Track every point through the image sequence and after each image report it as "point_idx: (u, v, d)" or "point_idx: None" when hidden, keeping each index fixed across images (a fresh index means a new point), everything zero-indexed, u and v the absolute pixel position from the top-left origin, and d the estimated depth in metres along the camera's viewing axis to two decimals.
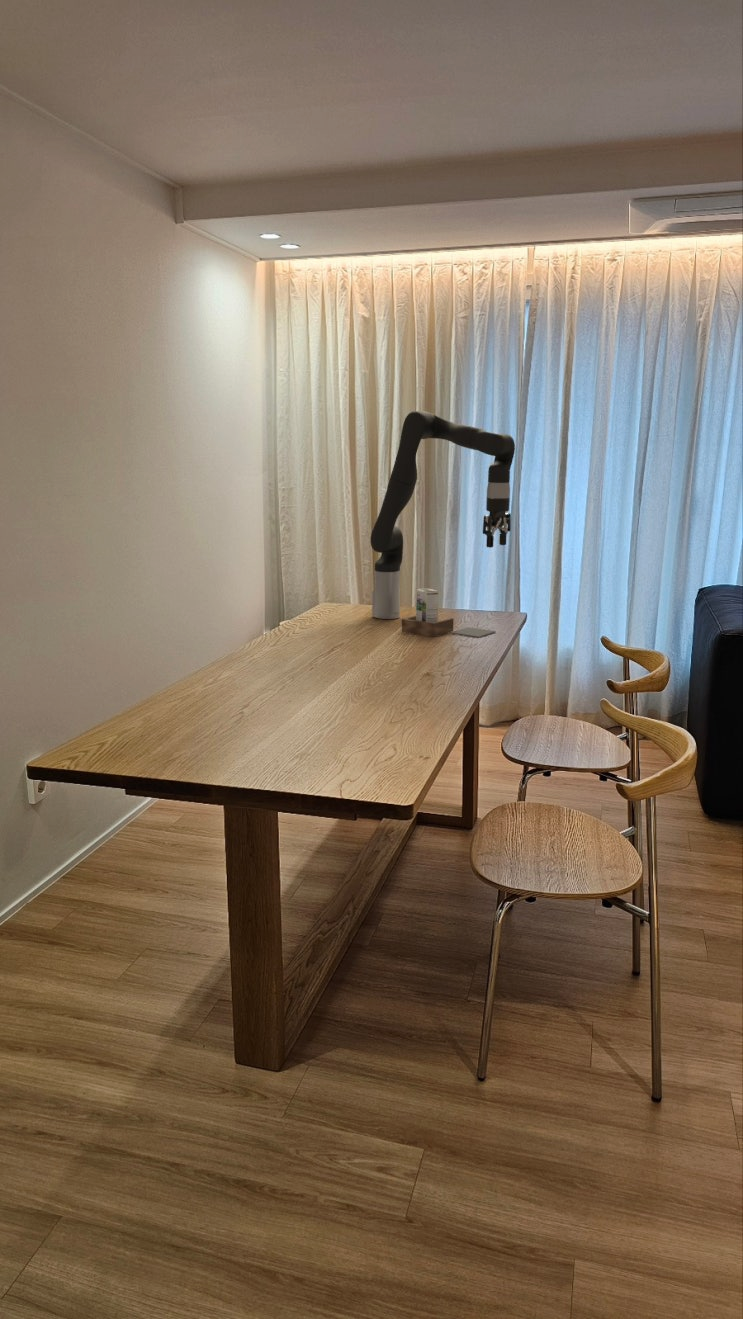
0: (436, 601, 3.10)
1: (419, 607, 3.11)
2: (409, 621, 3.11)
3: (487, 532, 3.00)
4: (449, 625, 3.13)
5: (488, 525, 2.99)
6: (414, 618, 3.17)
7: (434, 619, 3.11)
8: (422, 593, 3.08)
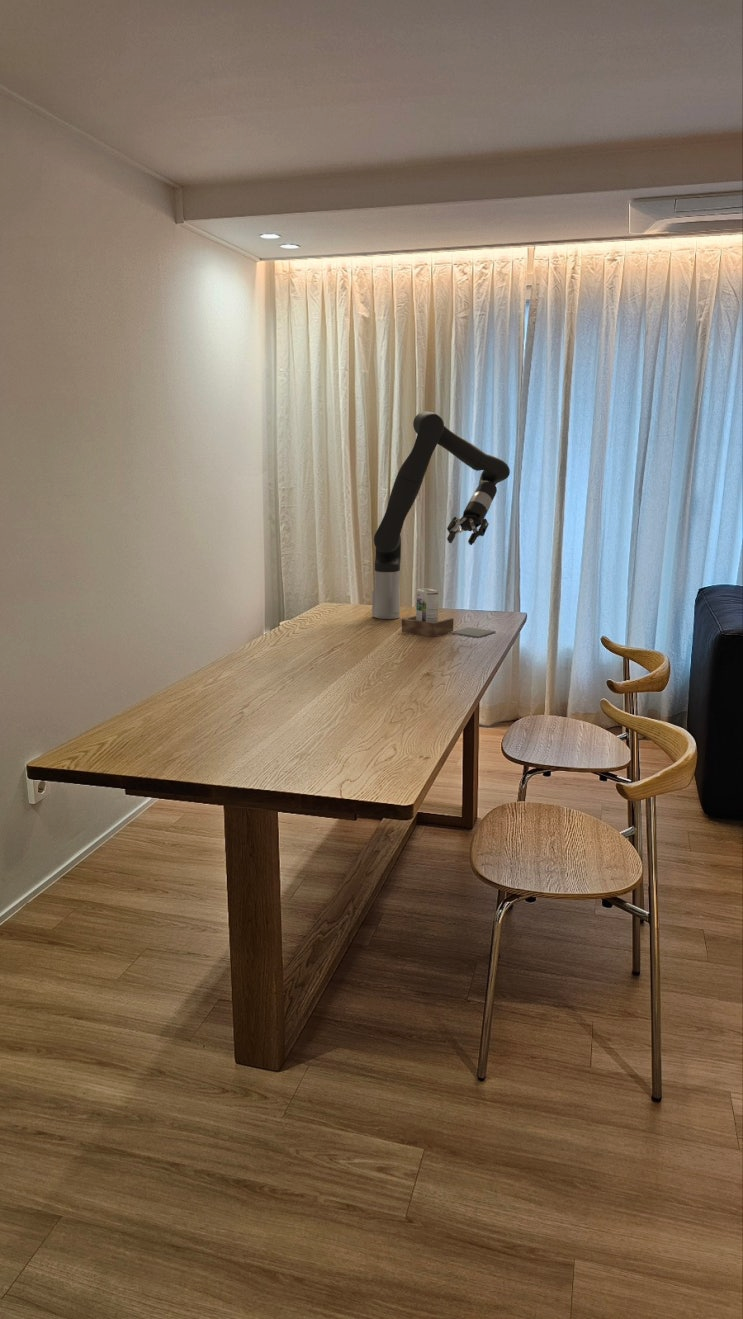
0: (436, 601, 3.10)
1: (419, 607, 3.11)
2: (409, 621, 3.11)
3: (483, 533, 3.20)
4: (449, 625, 3.13)
5: (485, 529, 3.21)
6: (414, 618, 3.17)
7: (434, 619, 3.11)
8: (422, 593, 3.08)
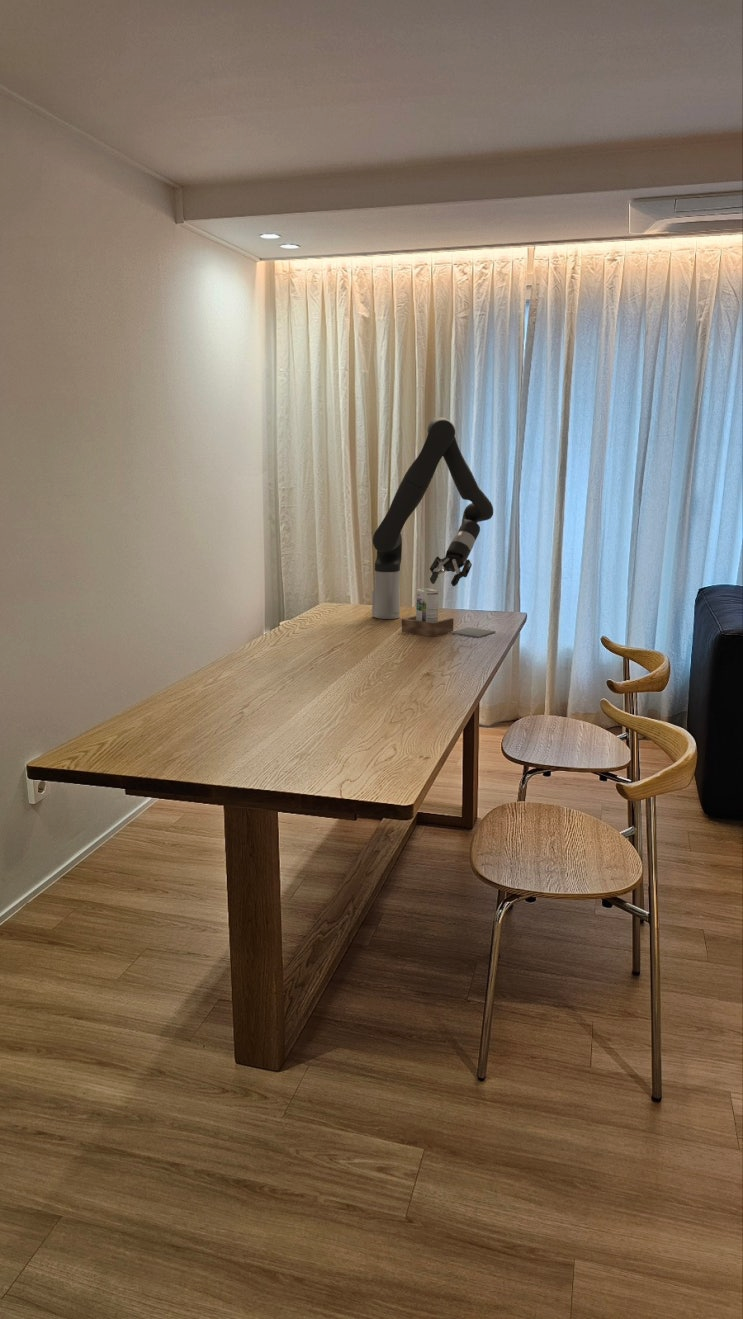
0: (436, 601, 3.10)
1: (419, 607, 3.11)
2: (409, 621, 3.11)
3: (466, 574, 3.16)
4: (449, 625, 3.13)
5: (468, 570, 3.17)
6: (414, 618, 3.17)
7: (434, 619, 3.11)
8: (422, 593, 3.08)
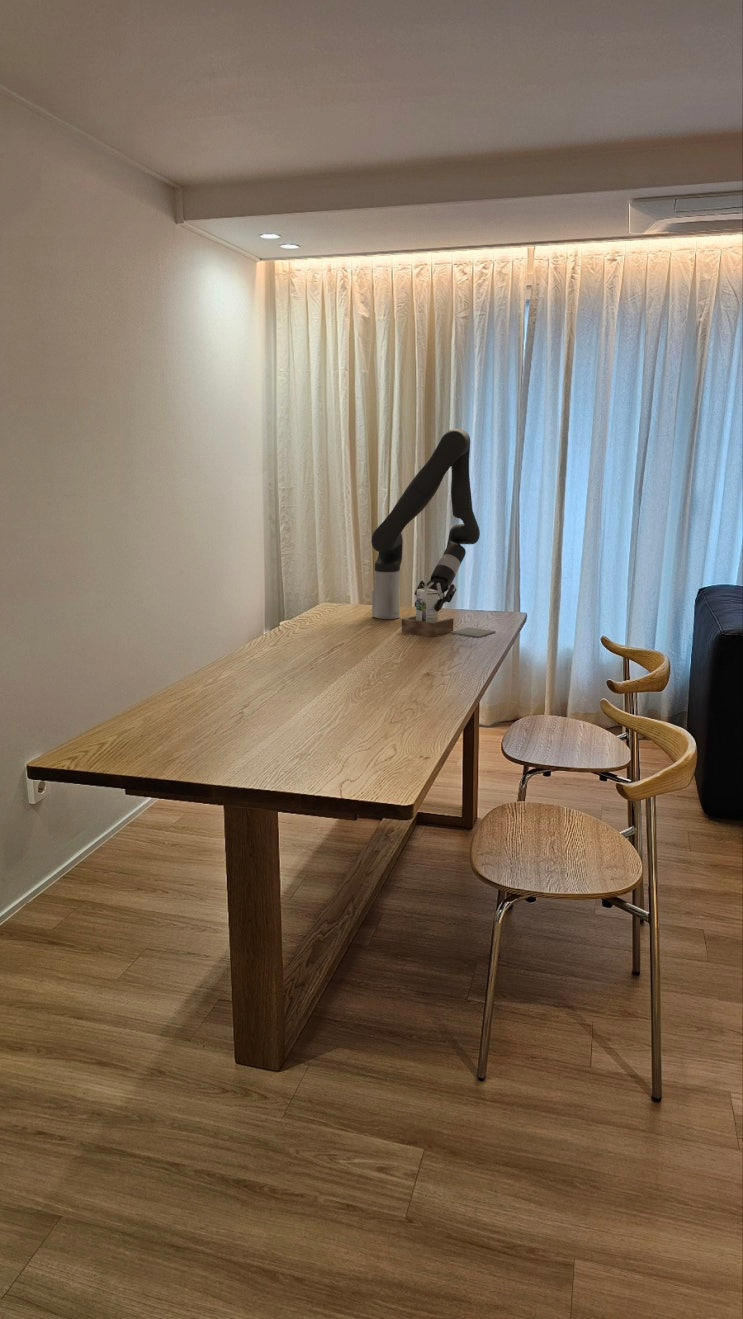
0: (436, 601, 3.10)
1: (419, 607, 3.11)
2: (409, 621, 3.11)
3: (449, 599, 3.10)
4: (449, 625, 3.13)
5: (452, 595, 3.11)
6: (414, 618, 3.17)
7: (434, 619, 3.11)
8: (422, 593, 3.08)
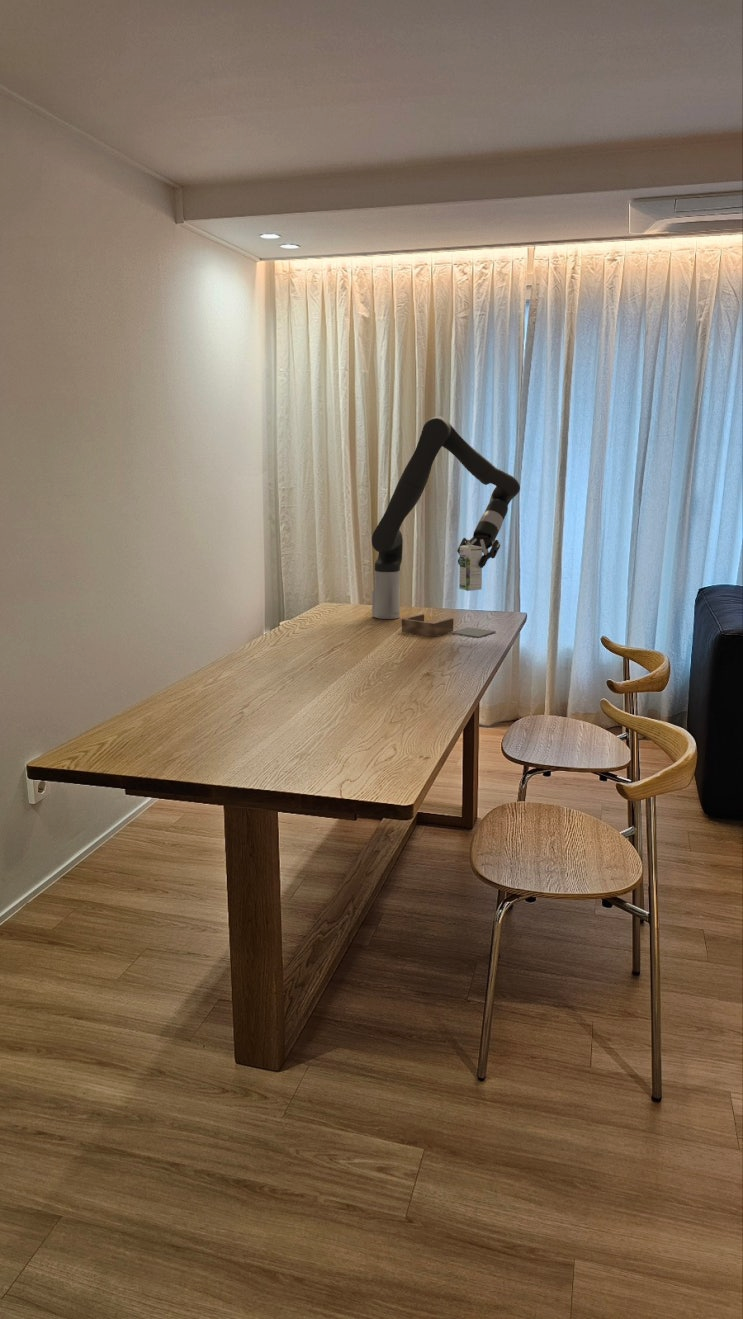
0: (480, 557, 3.05)
1: (463, 563, 3.05)
2: (409, 621, 3.11)
3: (494, 555, 3.05)
4: (449, 625, 3.13)
5: (497, 550, 3.06)
6: (414, 618, 3.17)
7: (478, 576, 3.06)
8: (466, 549, 3.03)
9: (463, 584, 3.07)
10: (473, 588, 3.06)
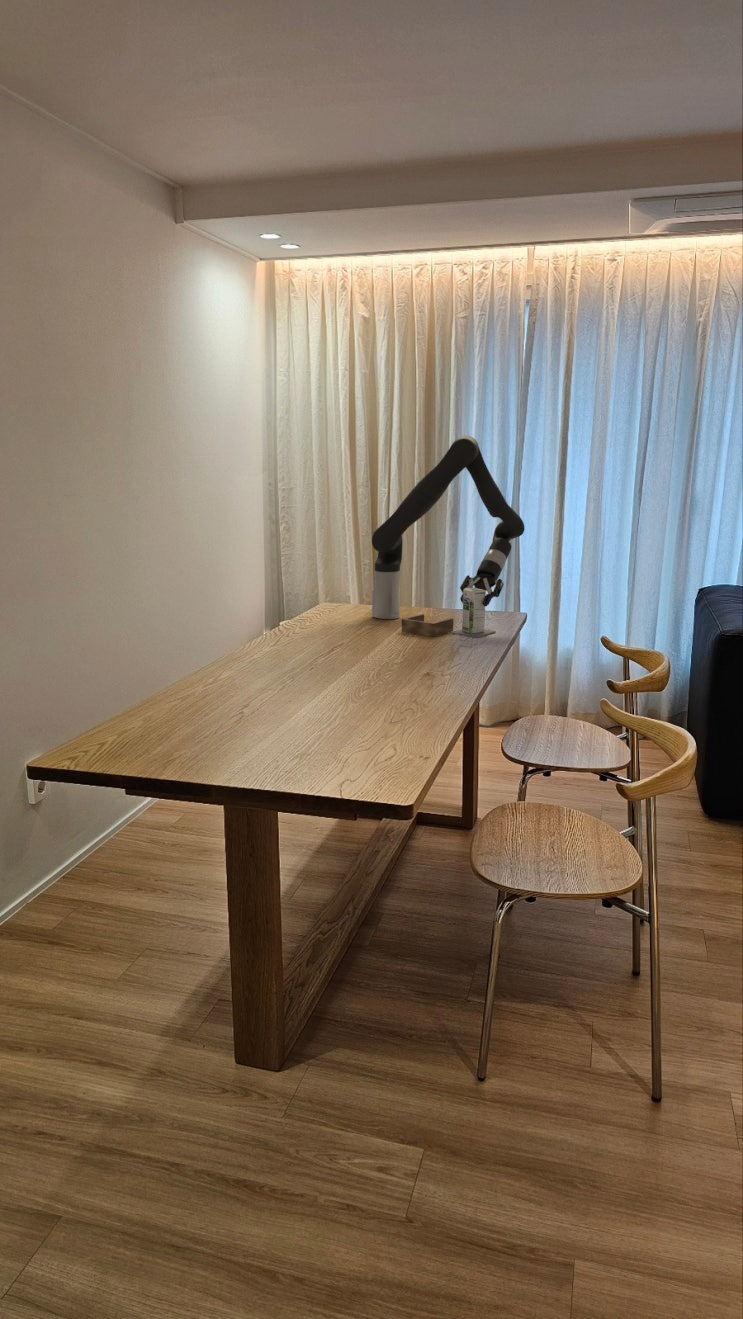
0: None
1: (467, 606, 3.09)
2: (409, 621, 3.11)
3: (498, 594, 3.08)
4: (449, 625, 3.13)
5: (500, 589, 3.09)
6: (414, 618, 3.17)
7: (481, 619, 3.09)
8: (470, 592, 3.06)
9: (466, 626, 3.10)
10: (476, 631, 3.09)
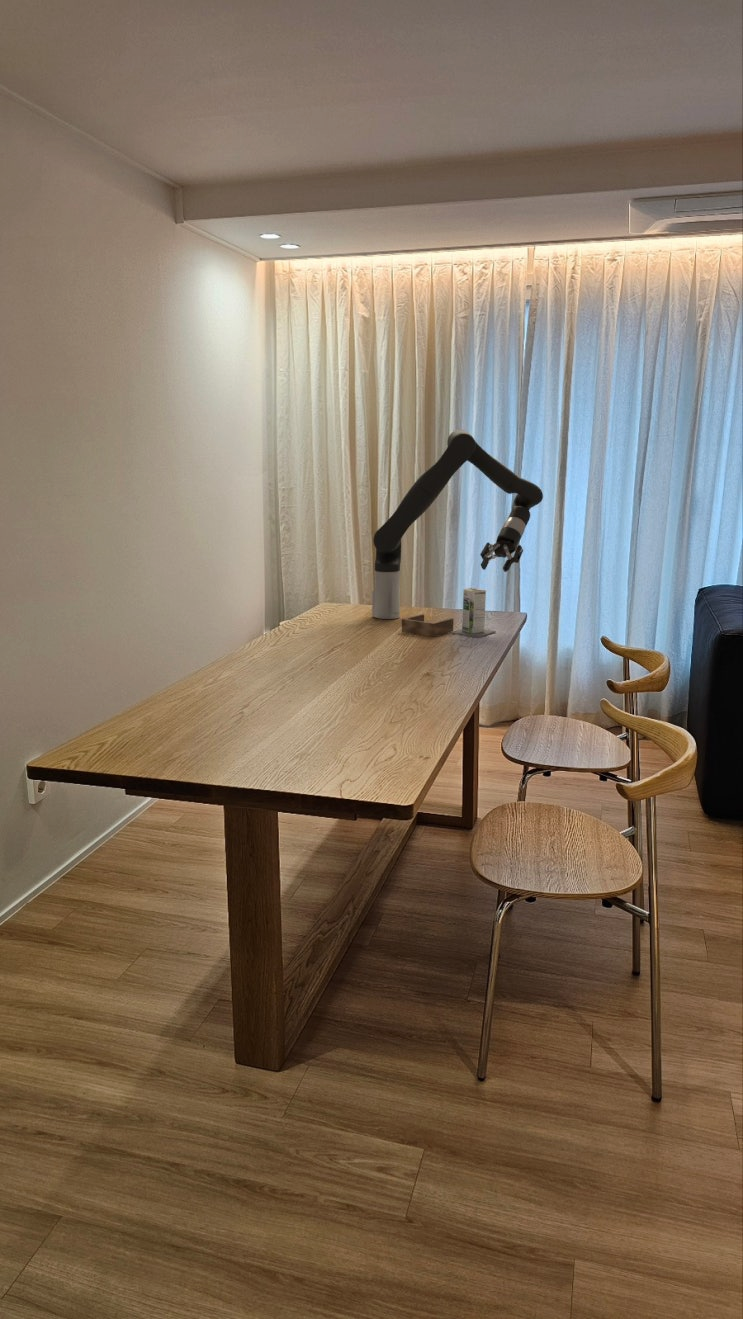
0: (483, 600, 3.08)
1: (467, 606, 3.09)
2: (409, 621, 3.11)
3: (517, 560, 3.15)
4: (449, 625, 3.13)
5: (520, 555, 3.16)
6: (414, 618, 3.17)
7: (481, 619, 3.09)
8: (470, 592, 3.06)
9: (466, 626, 3.10)
10: (476, 631, 3.09)
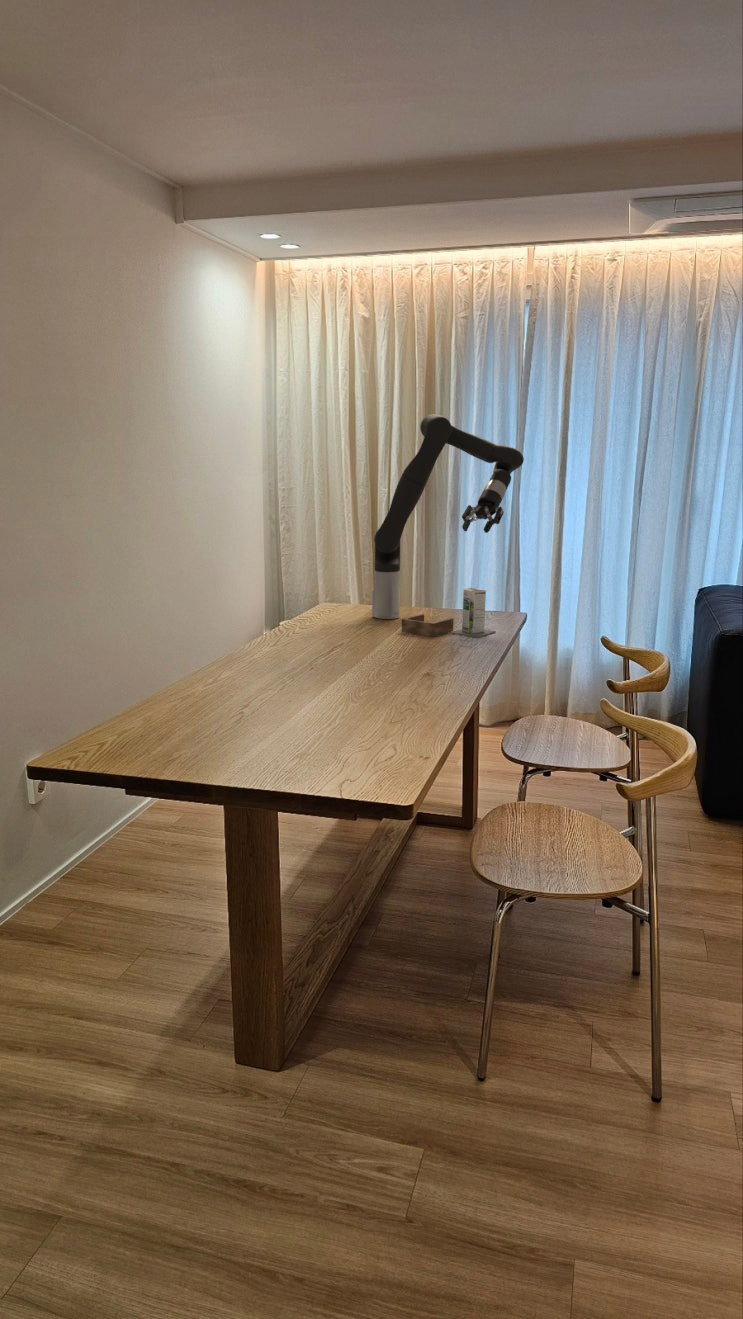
0: (483, 600, 3.08)
1: (467, 606, 3.09)
2: (409, 621, 3.11)
3: (498, 521, 3.21)
4: (449, 625, 3.13)
5: (500, 517, 3.22)
6: (414, 618, 3.17)
7: (481, 619, 3.09)
8: (470, 592, 3.06)
9: (466, 626, 3.10)
10: (476, 631, 3.09)
